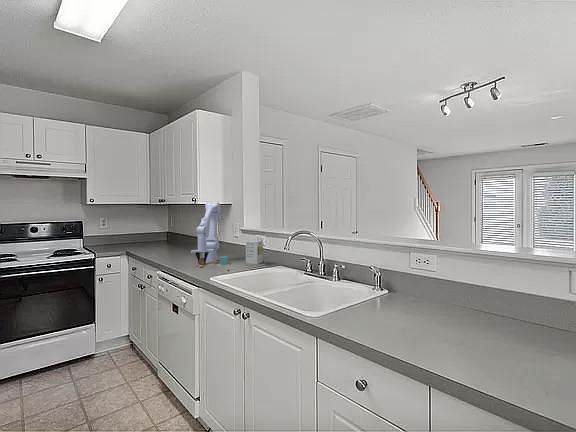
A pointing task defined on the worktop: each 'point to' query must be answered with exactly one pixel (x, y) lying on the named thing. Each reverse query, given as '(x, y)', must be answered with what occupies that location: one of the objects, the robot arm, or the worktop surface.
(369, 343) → the worktop surface
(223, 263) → the cube
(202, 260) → the wooden board with block
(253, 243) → the supplement box
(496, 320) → the worktop surface
